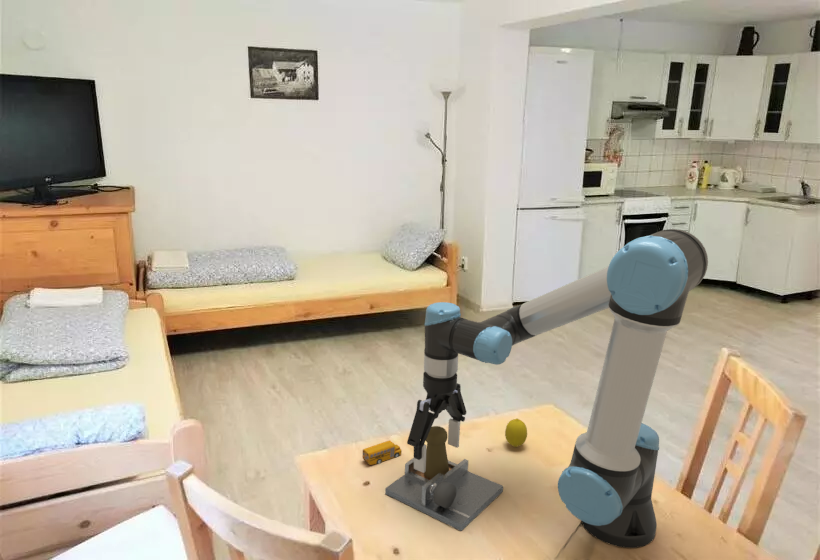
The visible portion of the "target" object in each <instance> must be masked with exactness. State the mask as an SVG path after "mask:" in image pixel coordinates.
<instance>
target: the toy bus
mask: <svg viewBox="0 0 820 560" xmlns="http://www.w3.org/2000/svg"><path fill="white" fill-rule="evenodd" d="M401 455H402V449H401V447H400V446H399V445H398V444H395V443H394V442H392V441H391V440H390V439H389V440H386V441H383V442H381V443H377V444H375V445H374V444H373V445H372V446H368V447H365V448H363V449H362V459H363V461H364V462H365V463H367V465H376V464H377V465H379V464H382V462H386V461H389V460H391V459H395V458H399V457H400V456H401Z"/></svg>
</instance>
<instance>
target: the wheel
mask: <svg viewBox="0 0 820 560" xmlns="http://www.w3.org/2000/svg"><path fill="white" fill-rule="evenodd" d="M455 496H456V486H455V485H453V484H450V483H448V482H446V481H442V482H440V483H439V485H438V486H437V488H436V490H435V493H434V502H435V504H437V505H439V506H441V507H444V508H449V507H450V506H451V505H452V503H453V501H454V499H455Z"/></svg>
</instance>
